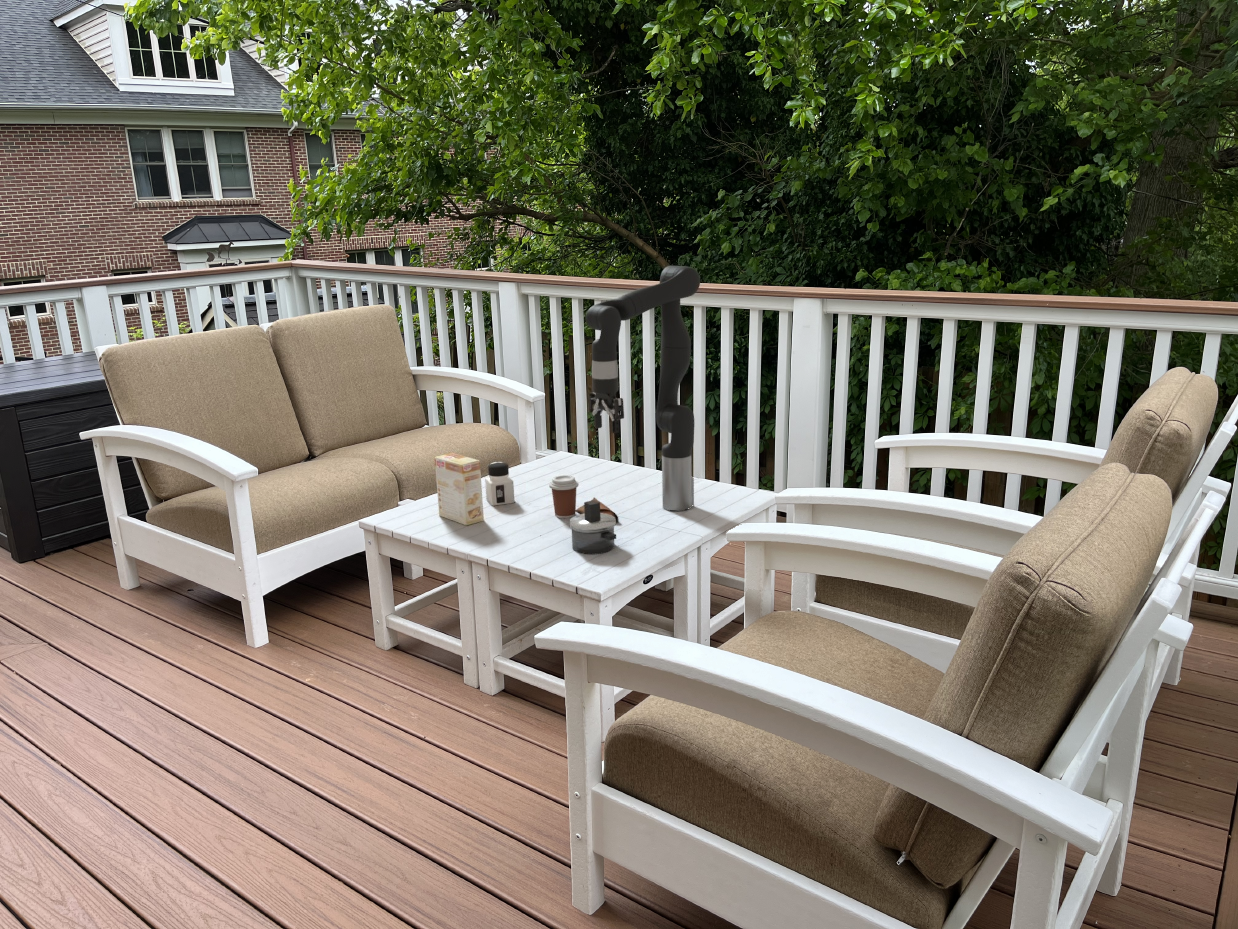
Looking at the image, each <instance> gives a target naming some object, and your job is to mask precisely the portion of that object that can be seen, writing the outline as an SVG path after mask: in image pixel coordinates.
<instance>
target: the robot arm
mask: <svg viewBox="0 0 1238 929" xmlns="http://www.w3.org/2000/svg"><path fill="white" fill-rule="evenodd" d="M659 278H660V279H659V283H657V284H652V285H649V286H645V287H641V288H637V289H633V290H632V291H630V292H627V293H625V294H622V295H621V296H618V297H617V298H614V299H610V300H605V301H603V302H599V303H596V304H594V305H592V306H591V307H590V308H589V309H587V311H586V314H585V323H586V325H587V326H588V328H590V329H593V330H596V331H600V333H599V334H600V335H599V338H597V339H595V340H594V341H592V344H591V360H592V361H591V384H592V385H591V386H592V389H591V390H592V392H589V393H588V413H591V414H592V415H593V424H594V429H597V430H598V429H602V427H603V420H602V418H603V417H602V416H603V415H602V413H603V411H604V412H606V414H607V415H608V416H609V417H610V419H611V422H610V424H611V433H612V434H618V433H620V421H621V420H622V419H624V418H625V411H624V410H625V409H624V408H625V407H624V406H625V405H624V398H622V397H619V398H617V396H616V394H617V392H619V367H618V359H617V358H618V357H617V353H618V352H617V344H618V340H619V336H620V330H621V327H622V326H621V325H622V321H629V320H631V319H633V318H636V317H637V316H640V315H642V314H643V313H646V312H648V311H649V310H652V309H654V308H657V307H660V313H661V327H660V328H661V333H660V334H661V335H660V336H661V338H660V370H659V371H660V372H659V388H658V396H657V397H658V398H657V403H656V404H657V405H656V413H655V414H656V415H655V418H656V420H655V421H656V425H657V427H658V428H659V430H661V431H662V432H664V433H669V434H670V442H669V443H665V444H663V446H662V447H661V478H662V479H661V484H662V485H661V486H662V492H661V493H662V508H663V509H664V510H666V511H670V510H683V511H685V510H684V509H688V508H690V507H691V506H692V505H694V506H695V488H694V487H695V480H694V479H695V478H694V477H693V476H692V449H693V446H694V442H695V415H694V412H693V410H692V409H691V408H690V407H689V406H687V405H681V404H679V403H678V402H679V401H678V400H679V399H678V398H679V394H678V393H679V388H680V384H681V382H682V381H683V378H684V377H685V375H686V373H687V371H688V368H689V366H690V363H691V357H692V356H691V354H692V353H691V350H692V342H691V340H692V339H691V337H690V334H689V332H688V331H689V330H688V329H687V326H686V324H685V321H684V320H683V316H682V312H681V311H682V310H681V300H682V299H685V298H690V297H692V296H694V295H695V294H696V293H697V292H698V290H699V288H700V285H701V277H700V274H699V272H698V271H697V270H696V269H695V268H693V267H691V266H687V265H668V266H666V267H664V268H663V270H662V271H661V273H660V277H659ZM692 507H693V506H692ZM692 507H691V508H692ZM691 508H690V509H691ZM688 510H689V509H688Z"/></svg>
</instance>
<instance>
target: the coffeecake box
mask: <svg viewBox="0 0 1238 929" xmlns="http://www.w3.org/2000/svg"><path fill="white" fill-rule="evenodd" d="M434 467H435V479H436V491H437V503H438V505H437V506H438V515H439V517H442V518H445V519H448V520H451V521H452V522H456V523H459V524H461V525H464V526H469V525H473V524H477V523H480V522H484V521H485V518H484V504H483V488H482V486H483V485H482V474H481V471H482V470H481V460H479V459H477V458H476V459H475V458H473V457H469V456H465V455H461V454H457V453H454V452H450V453H449V452H448V453H445V454H441V455H437V456H434Z"/></svg>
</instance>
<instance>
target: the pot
mask: <svg viewBox="0 0 1238 929" xmlns="http://www.w3.org/2000/svg"><path fill="white" fill-rule="evenodd" d="M615 525H616V524H615ZM615 525H614V526H613V527H611V528H609V529H605V530H600V531H581V530H577V529H574V528H572V527H571V526H570V525H569V526H570V529H571V543H572V544H571V546H572V550H573V551H575V553H579V554H584V555H601V554H606V553H608V552H610V551H612V550H614V548H615V540H616V539H617V534H616V533H615Z"/></svg>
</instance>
